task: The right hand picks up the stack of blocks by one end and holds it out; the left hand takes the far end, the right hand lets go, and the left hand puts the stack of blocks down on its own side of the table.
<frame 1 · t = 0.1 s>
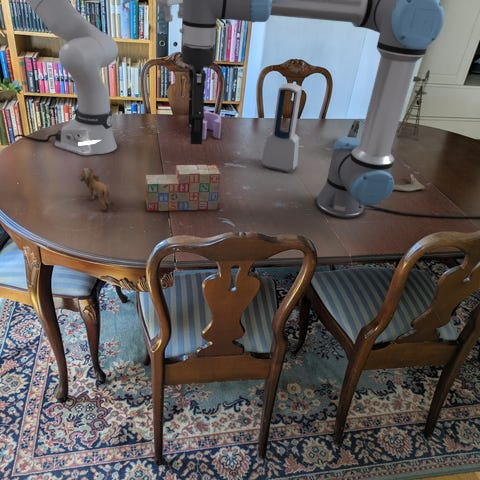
left hand: (175, 19, 144), 48 cm above the table, tool pointing down, fingers open, 8 cm apart
right hand: (194, 133, 119), 28 cm above the table, tool pointing down, fingers open, 13 cm apart
handheld gaming console: (349, 150, 197), on the table
electronic device: (278, 167, 175), on the table
stack of blocks: (181, 205, 144), on the table
jawbone: (396, 185, 172), on the table
lion figurine: (97, 201, 141), on the table
miniature windmill: (406, 135, 220), on the table
clip: (203, 131, 201), on the table
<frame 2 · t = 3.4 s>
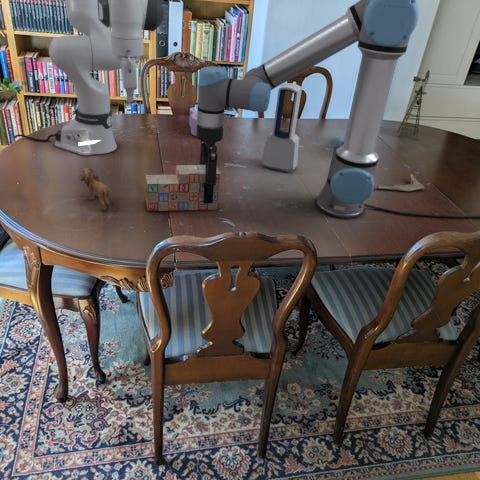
left hand: (129, 96, 139), 28 cm above the table, tool pointing down, fingers open, 8 cm apart
right hand: (205, 197, 144), 3 cm above the table, tool pointing down, fingers closed on stack of blocks, 6 cm apart
stack of blocks: (181, 205, 144), on the table, touching right hand
everything else where it was.
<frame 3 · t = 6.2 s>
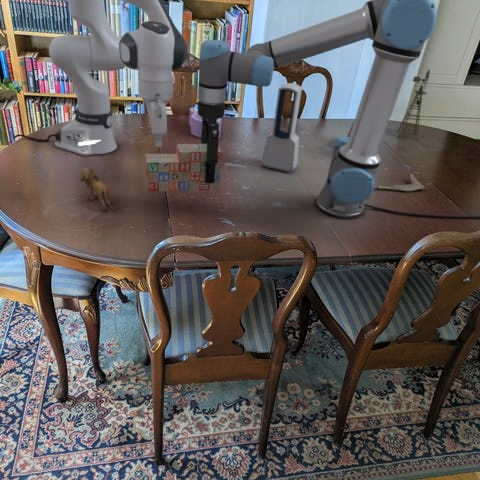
left hand: (156, 139, 131), 21 cm above the table, tool pointing down, fingers open, 8 cm apart
right hand: (207, 177, 141), 9 cm above the table, tool pointing down, fingers closed on stack of blocks, 6 cm apart
stack of blocks: (182, 186, 140), point 7 cm above the table, touching right hand
everything else where it was.
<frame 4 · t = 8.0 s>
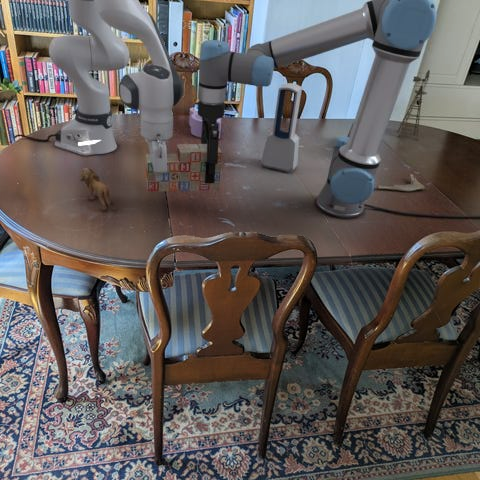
left hand: (157, 174, 136), 11 cm above the table, tool pointing down, fingers closed on stack of blocks, 6 cm apart
right hand: (207, 177, 141), 9 cm above the table, tool pointing down, fingers closed on stack of blocks, 6 cm apart
stack of blocks: (182, 186, 140), point 7 cm above the table, touching left hand, right hand
everything else where it was.
when the right hand's fingers open (9 cm above the table, at t = 8.9 s): stack of blocks stays where it is, held by the left hand.
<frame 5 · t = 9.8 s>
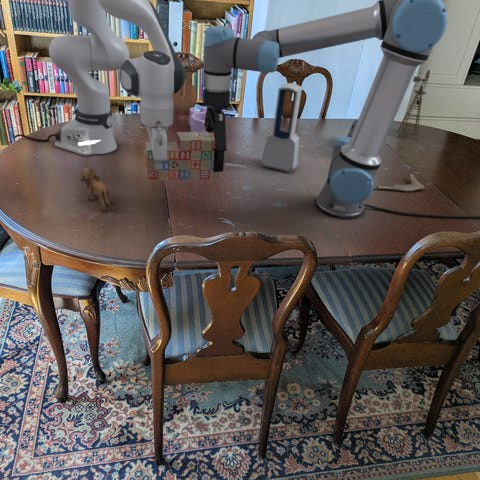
left hand: (157, 162, 135), 14 cm above the table, tool pointing down, fingers closed on stack of blocks, 6 cm apart
right hand: (213, 161, 138), 15 cm above the table, tool pointing down, fingers open, 13 cm apart
stack of blocks: (182, 174, 139), point 10 cm above the table, touching left hand
everything else where it was.
when the left hand's fingers open (5 cm above the table, at t = 15.0 s): stack of blocks stays where it is, on the table.
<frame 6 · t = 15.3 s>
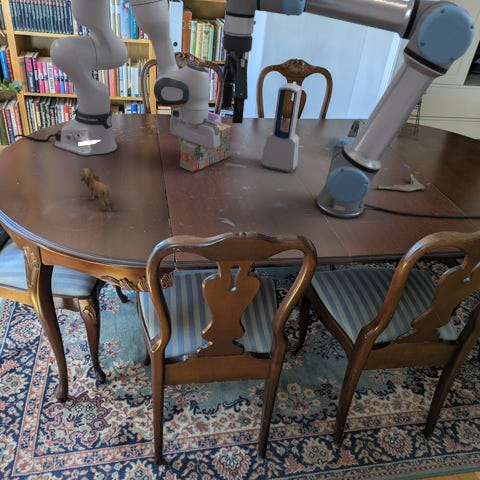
left hand: (193, 153, 165), 5 cm above the table, tool pointing down, fingers open, 8 cm apart
right hand: (231, 114, 132), 29 cm above the table, tool pointing down, fingers open, 13 cm apart
stack of blocks: (205, 161, 173), on the table
everything else where it was.
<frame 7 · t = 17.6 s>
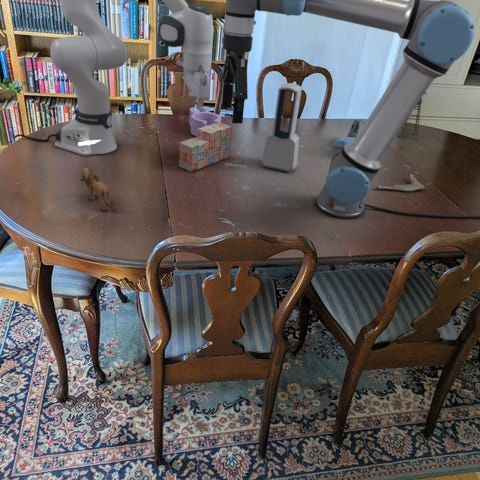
left hand: (195, 105, 156), 23 cm above the table, tool pointing down, fingers open, 8 cm apart
right hand: (231, 114, 132), 29 cm above the table, tool pointing down, fingers open, 13 cm apart
nothing on the table moved.
at the end: stack of blocks inside the target area (7.0 cm from its centre), on the table; the left hand is holding nothing; the right hand is holding nothing; stack of blocks at rest at the end (0.0 cm/s) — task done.
